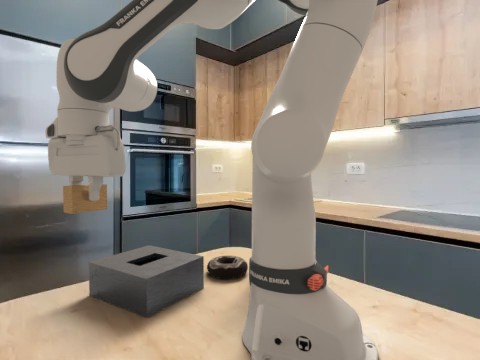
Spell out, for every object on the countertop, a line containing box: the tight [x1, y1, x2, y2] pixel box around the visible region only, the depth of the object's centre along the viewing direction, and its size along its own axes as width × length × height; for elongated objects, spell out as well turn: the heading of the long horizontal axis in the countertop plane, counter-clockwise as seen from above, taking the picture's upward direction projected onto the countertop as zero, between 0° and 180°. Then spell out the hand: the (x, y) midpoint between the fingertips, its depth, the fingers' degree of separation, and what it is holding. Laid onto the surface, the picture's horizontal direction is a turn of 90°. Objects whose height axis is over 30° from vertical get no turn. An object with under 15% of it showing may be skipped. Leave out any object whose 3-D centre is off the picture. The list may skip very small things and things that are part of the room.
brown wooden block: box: [62, 183, 108, 215], centre depth 58 cm, size 3×7×5 cm, turn 148°
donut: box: [206, 255, 249, 280], centre depth 86 cm, size 12×12×4 cm
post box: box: [88, 244, 205, 319], centre depth 73 cm, size 20×18×8 cm
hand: (86, 199), depth 58 cm, fingers closed on brown wooden block, 3 cm apart
